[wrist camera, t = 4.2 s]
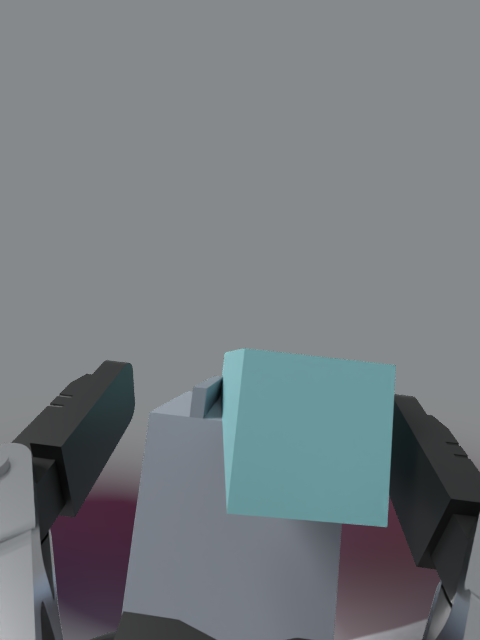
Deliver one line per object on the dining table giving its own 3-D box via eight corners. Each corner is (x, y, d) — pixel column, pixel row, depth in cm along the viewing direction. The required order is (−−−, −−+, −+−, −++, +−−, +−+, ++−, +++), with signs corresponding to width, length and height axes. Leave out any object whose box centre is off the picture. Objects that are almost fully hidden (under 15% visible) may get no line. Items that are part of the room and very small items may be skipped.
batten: (226, 513, 7) (244, 348, 7) (220, 389, 31) (224, 352, 31) (386, 526, 7) (396, 364, 7) (256, 392, 31) (260, 356, 31)
